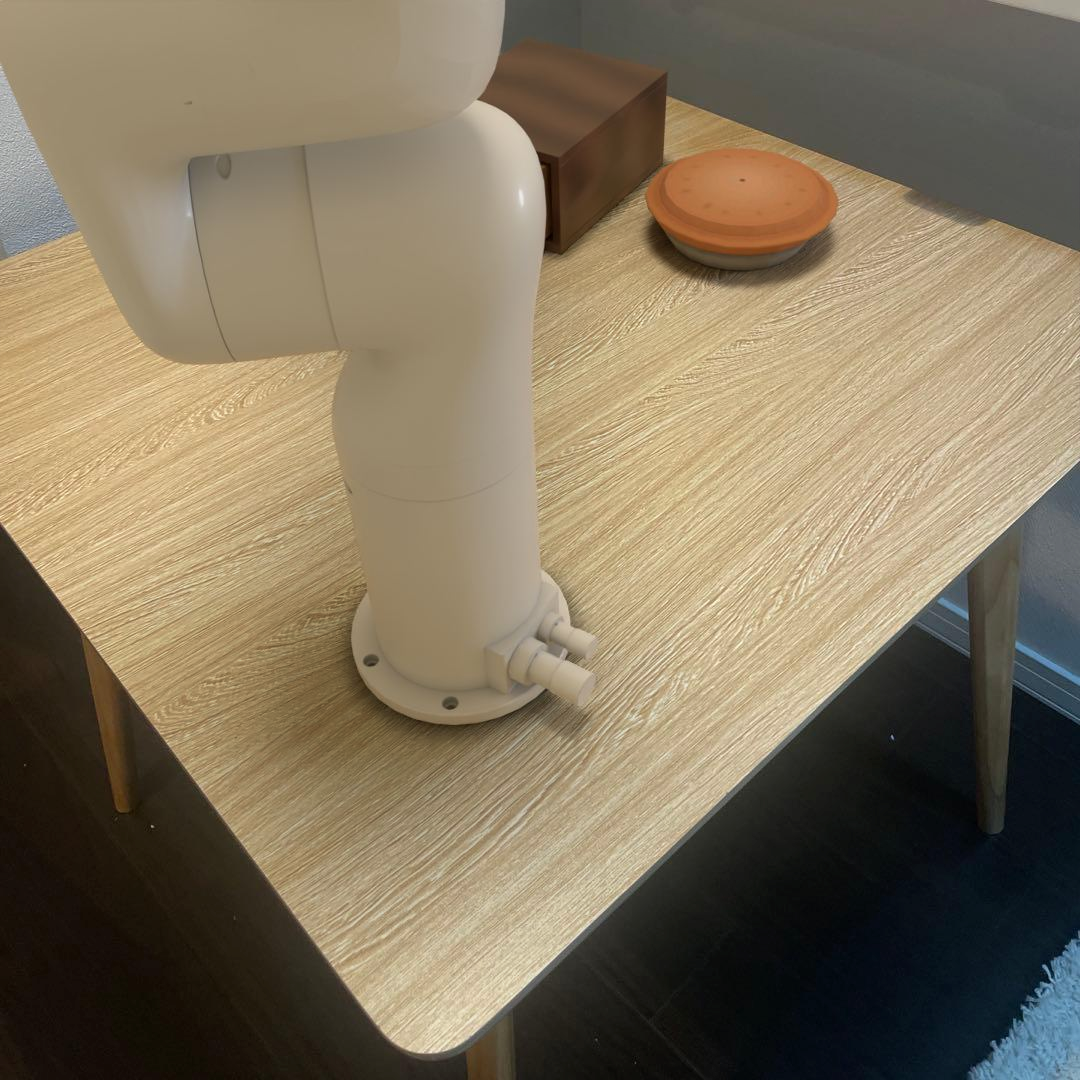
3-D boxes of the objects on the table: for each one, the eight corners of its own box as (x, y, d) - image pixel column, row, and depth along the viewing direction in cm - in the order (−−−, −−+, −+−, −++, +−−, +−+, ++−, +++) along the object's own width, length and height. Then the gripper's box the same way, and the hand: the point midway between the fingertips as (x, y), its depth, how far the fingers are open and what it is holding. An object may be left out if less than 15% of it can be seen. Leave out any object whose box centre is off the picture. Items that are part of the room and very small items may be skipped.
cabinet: (561, 254, 92) (558, 157, 86) (420, 209, 98) (409, 114, 92) (663, 163, 102) (668, 70, 96) (530, 127, 108) (526, 37, 102)
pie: (605, 235, 94) (606, 180, 91) (727, 170, 101) (732, 117, 97) (746, 310, 86) (753, 254, 82) (868, 234, 93) (879, 179, 89)
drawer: (413, 366, 81) (401, 286, 76) (276, 312, 86) (257, 234, 82) (575, 225, 94) (574, 148, 89) (447, 185, 99) (439, 111, 94)
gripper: (279, -275, 57) (335, 61, 69) (477, -331, 67) (495, -28, 79) (177, -286, 60) (248, 38, 72) (381, -337, 70) (412, -45, 82)
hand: (377, 3), depth 76 cm, fingers open, 9 cm apart
